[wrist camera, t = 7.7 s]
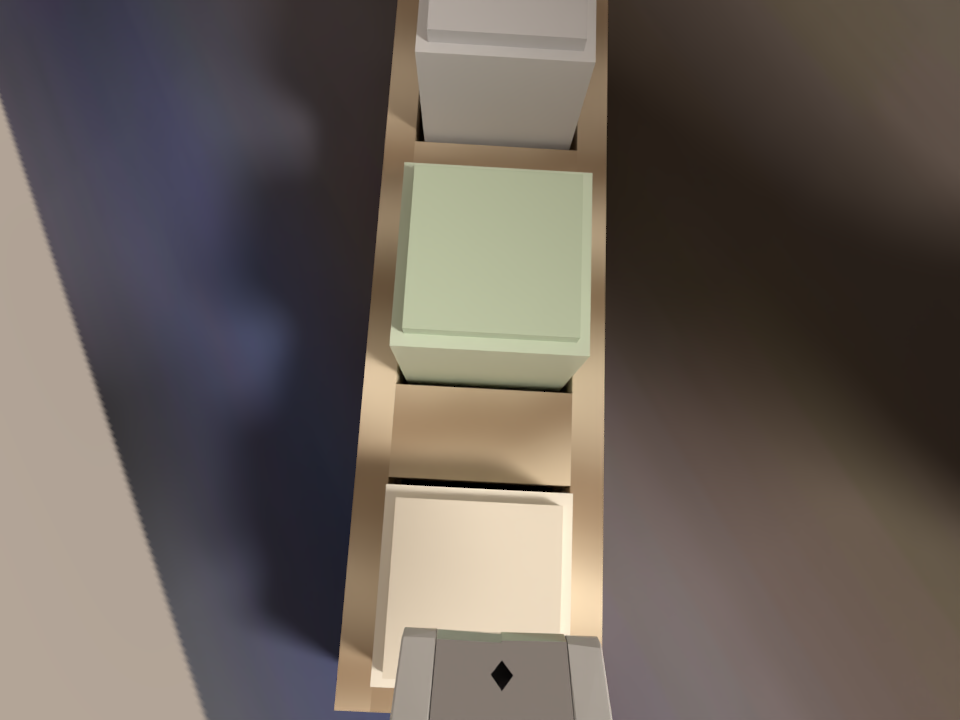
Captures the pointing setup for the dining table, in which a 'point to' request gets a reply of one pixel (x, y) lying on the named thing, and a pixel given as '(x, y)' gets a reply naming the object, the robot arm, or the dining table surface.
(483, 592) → the cream key
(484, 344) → the sage key
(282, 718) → the dining table surface
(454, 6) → the grey key
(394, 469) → the keypad housing
